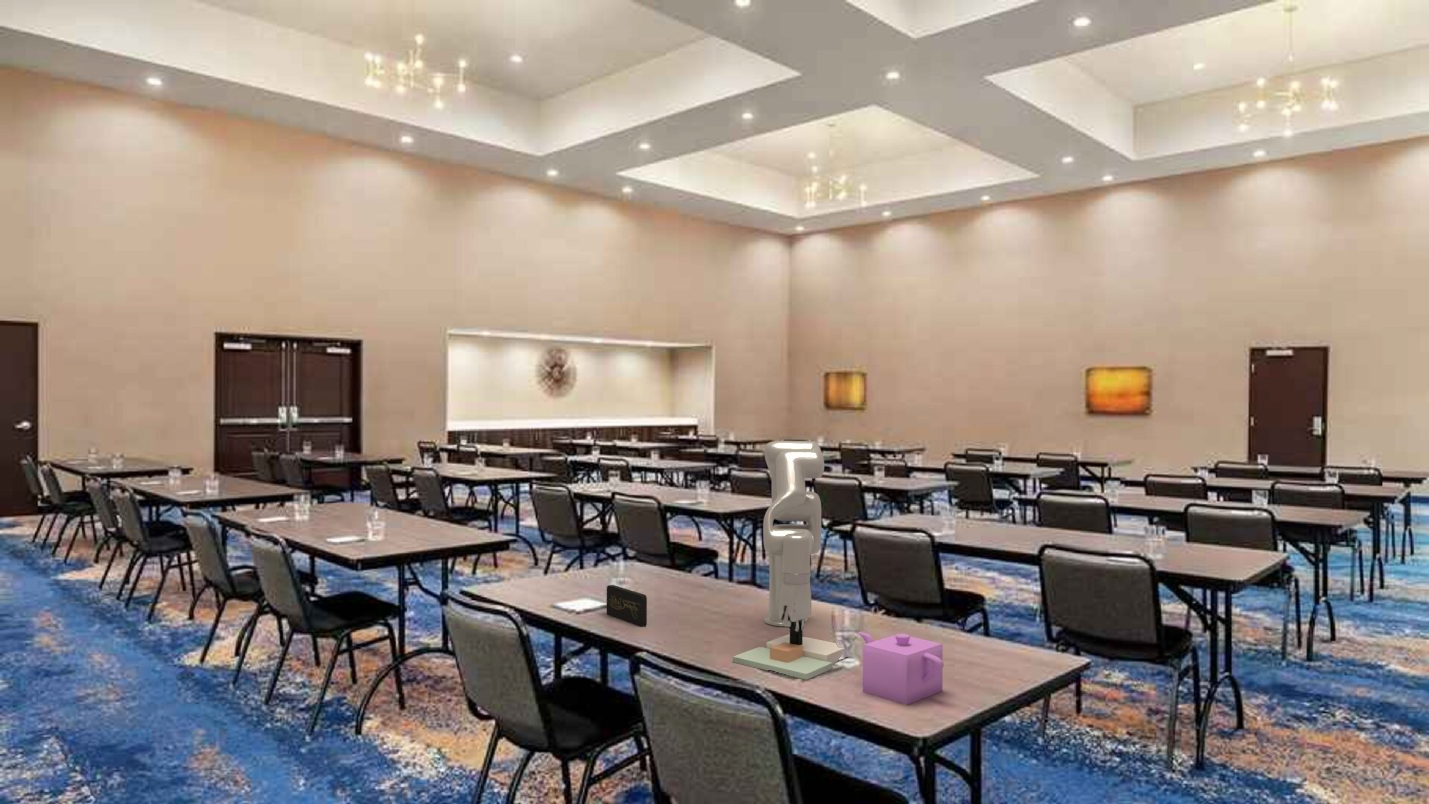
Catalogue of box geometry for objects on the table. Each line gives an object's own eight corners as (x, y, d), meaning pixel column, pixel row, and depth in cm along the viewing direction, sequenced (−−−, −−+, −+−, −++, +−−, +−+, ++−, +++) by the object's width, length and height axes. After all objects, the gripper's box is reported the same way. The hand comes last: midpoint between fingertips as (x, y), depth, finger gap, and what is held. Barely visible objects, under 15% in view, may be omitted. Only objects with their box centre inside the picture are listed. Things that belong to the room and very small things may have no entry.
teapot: (876, 672, 230) (876, 619, 230) (960, 696, 212) (960, 638, 212) (839, 685, 220) (839, 629, 220) (924, 711, 202) (924, 650, 202)
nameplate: (646, 626, 277) (646, 595, 277) (641, 627, 276) (641, 596, 276) (611, 614, 293) (611, 584, 293) (606, 614, 292) (606, 585, 292)
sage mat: (760, 651, 249) (760, 646, 249) (832, 668, 233) (832, 662, 233) (732, 662, 239) (732, 656, 239) (806, 679, 224) (806, 674, 224)
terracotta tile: (784, 652, 242) (784, 642, 242) (802, 656, 239) (802, 646, 239) (769, 658, 237) (769, 647, 237) (788, 662, 233) (788, 651, 233)
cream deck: (790, 644, 257) (790, 633, 257) (849, 656, 244) (849, 646, 244) (766, 652, 248) (766, 642, 248) (826, 666, 235) (826, 655, 235)
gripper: (799, 572, 249) (799, 636, 249) (769, 580, 238) (769, 648, 238) (822, 576, 245) (822, 641, 245) (792, 584, 233) (792, 653, 233)
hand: (796, 644), depth 241 cm, fingers closed
